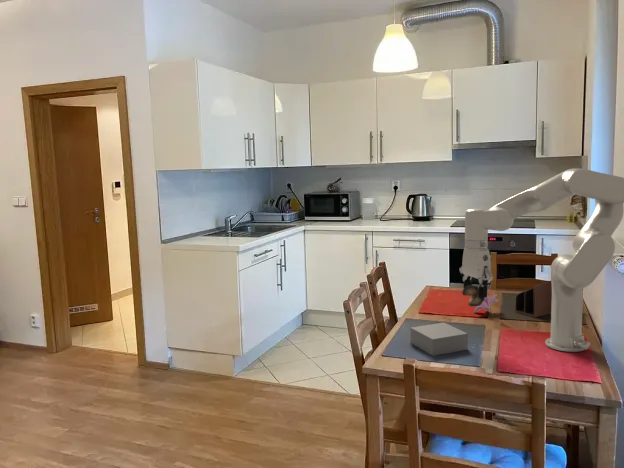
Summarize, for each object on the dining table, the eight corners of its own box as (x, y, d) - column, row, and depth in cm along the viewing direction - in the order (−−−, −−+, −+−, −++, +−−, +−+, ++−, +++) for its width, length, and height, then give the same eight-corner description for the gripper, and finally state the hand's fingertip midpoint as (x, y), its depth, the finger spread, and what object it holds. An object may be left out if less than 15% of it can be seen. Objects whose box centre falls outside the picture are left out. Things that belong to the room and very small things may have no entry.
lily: (503, 314, 220) (495, 293, 223) (507, 311, 209) (498, 288, 212) (476, 323, 221) (468, 301, 224) (479, 320, 210) (470, 297, 213)
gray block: (467, 350, 177) (467, 333, 176) (432, 356, 172) (432, 339, 171) (443, 338, 190) (443, 322, 189) (410, 343, 185) (410, 327, 184)
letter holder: (566, 310, 220) (567, 278, 218) (534, 318, 210) (535, 284, 209) (545, 305, 228) (546, 274, 227) (514, 312, 219) (515, 280, 217)
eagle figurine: (463, 295, 184) (456, 296, 176) (475, 279, 182) (469, 280, 174) (481, 309, 180) (474, 311, 173) (493, 293, 179) (487, 294, 171)
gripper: (502, 247, 171) (501, 299, 173) (468, 240, 187) (467, 288, 189) (484, 249, 168) (483, 302, 170) (451, 242, 184) (450, 291, 186)
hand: (475, 294), depth 179 cm, fingers closed on eagle figurine, 7 cm apart
